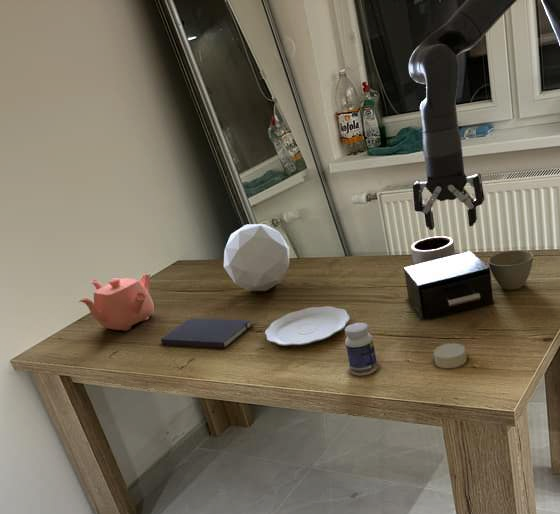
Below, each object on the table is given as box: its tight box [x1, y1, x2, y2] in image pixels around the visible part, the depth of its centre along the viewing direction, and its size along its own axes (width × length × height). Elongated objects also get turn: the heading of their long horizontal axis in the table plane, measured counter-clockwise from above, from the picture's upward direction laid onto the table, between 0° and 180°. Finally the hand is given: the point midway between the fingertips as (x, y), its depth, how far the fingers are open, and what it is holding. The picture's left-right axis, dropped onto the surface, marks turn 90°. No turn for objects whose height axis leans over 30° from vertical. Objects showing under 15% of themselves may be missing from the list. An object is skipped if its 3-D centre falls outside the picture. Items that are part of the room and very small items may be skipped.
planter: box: [410, 236, 456, 265], centre depth 175 cm, size 11×11×10 cm
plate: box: [264, 305, 351, 346], centre depth 167 cm, size 21×21×2 cm
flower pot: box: [487, 249, 534, 291], centre depth 161 cm, size 10×10×7 cm
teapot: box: [77, 273, 155, 332], centre depth 199 cm, size 18×18×14 cm
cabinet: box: [403, 251, 494, 321], centre depth 161 cm, size 14×17×9 cm
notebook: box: [160, 317, 252, 349], centre depth 179 cm, size 13×2×21 cm
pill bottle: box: [344, 322, 378, 377], centre depth 141 cm, size 6×6×10 cm
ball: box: [223, 223, 290, 292], centre depth 198 cm, size 19×20×20 cm
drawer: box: [422, 273, 494, 319], centre depth 157 cm, size 17×15×7 cm
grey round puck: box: [433, 343, 467, 369], centre depth 137 cm, size 6×6×2 cm
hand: (451, 226), depth 146 cm, fingers open, 8 cm apart
